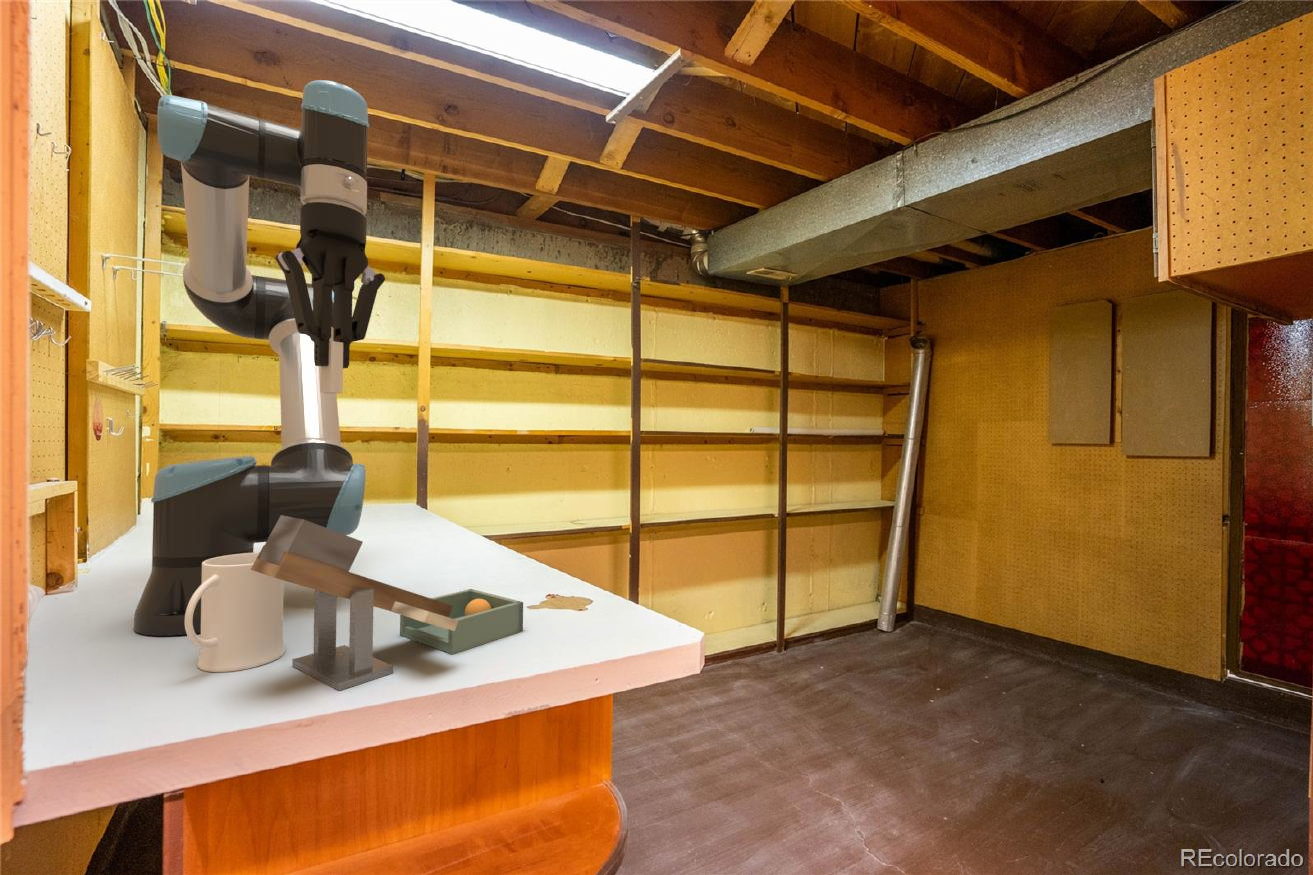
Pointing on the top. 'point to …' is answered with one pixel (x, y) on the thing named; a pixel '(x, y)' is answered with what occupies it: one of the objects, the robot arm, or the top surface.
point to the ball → (477, 606)
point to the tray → (467, 622)
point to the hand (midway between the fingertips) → (331, 392)
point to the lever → (337, 570)
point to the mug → (236, 615)
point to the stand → (343, 662)
